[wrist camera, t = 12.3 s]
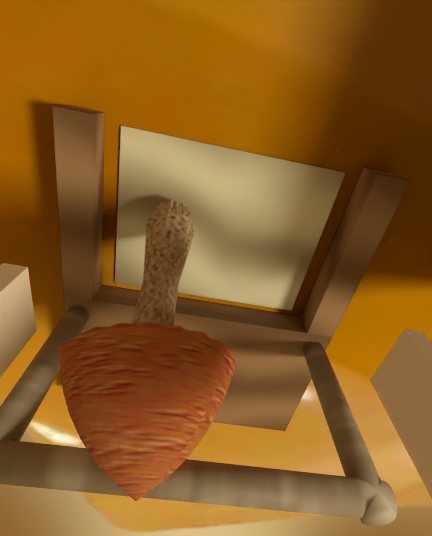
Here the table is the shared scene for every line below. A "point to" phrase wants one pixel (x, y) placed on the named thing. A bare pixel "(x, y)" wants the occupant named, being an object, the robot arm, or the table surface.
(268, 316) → the wooden rack
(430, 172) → the table surface
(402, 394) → the robot arm
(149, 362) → the mushroom
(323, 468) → the table surface
